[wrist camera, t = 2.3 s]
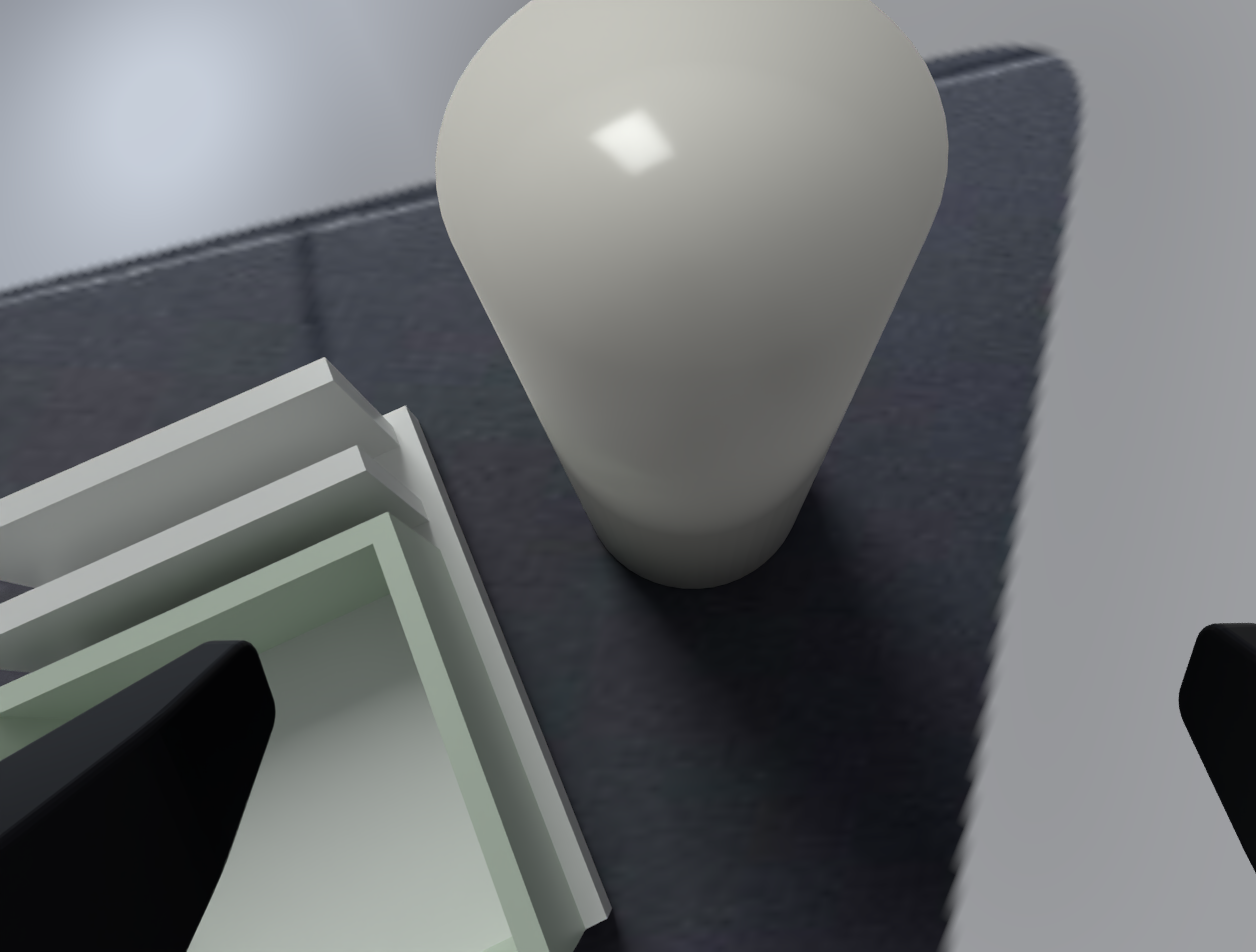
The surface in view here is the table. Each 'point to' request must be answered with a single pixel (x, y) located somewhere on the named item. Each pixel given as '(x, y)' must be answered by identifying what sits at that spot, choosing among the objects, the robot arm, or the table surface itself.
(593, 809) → the table surface
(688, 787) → the table surface
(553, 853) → the pale green holder box
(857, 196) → the off-white round-top cylinder
